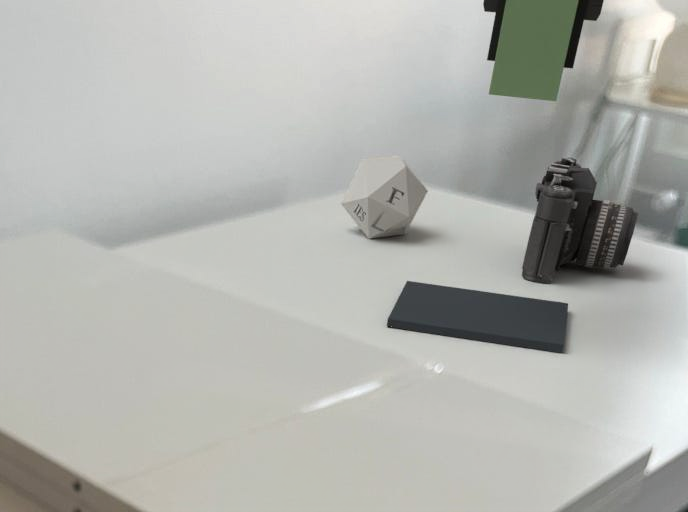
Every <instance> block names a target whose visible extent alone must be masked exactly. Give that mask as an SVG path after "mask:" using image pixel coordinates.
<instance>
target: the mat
mask: <svg viewBox="0 0 688 512" xmlns="http://www.w3.org/2000/svg"><path fill="white" fill-rule="evenodd" d="M568 311H569V303H568V302H562V301H556V300H555V301H554V300H549V299H547V300H546V299H541V298H534V297H526V296H519V295H511V294H504V293H499V292H497V293H496V292H490V291H483V290H477V289H468V288H461V287H455V286H446V285H441V284H440V285H439V284H432V283H426V282H418V281H412V280H406V282H405V284H404V286H403V288H402V290H401V292H400V294H399V296H398V297H397V299H396V302H395V304H394V306H393V307H392V310H391V312H390V314H389V316H388V318H387V321H386V327H387V326H392V327H397V328H396V329H399V328H401V329H400V330H405V329H406V330H405V331H412V332H419V333H426V334H433V335H439V336H446V337H452V338H458V339H466V340H474V341H480V342H486V343H494V344H499V345H504V346H505V345H506V346H512V347H519V348H524V349H525V348H526V349H533V350H540V351H546V352H553V353H559V354H562V353H563V352H564V349H565V344H566V343H565V342H566V331H567V320H568ZM392 327H391V328H392Z"/></svg>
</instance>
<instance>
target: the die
mask: <svg viewBox="0 0 688 512" xmlns="http://www.w3.org/2000/svg"><path fill="white" fill-rule="evenodd" d="M356 169H357V170H356V171H355V174H354V175H353V177H352V179H351V182H350V184H349V186H348V188H347V190H346V192H345V194H344V196H343V198H342V200H341V201H340V205H341V206H342V207H343V209H344V210H345V211H346V212H347V213H348V215H349V216H350V217H351V219H352V220H353V221H354V222H355V224H356V225H357V226H358V227H359V228H360V230H361V231H362V232H363V234H364V235H365V237H367V238H368V240H369V239H370V240H371V239H378V238H386V237H387V238H388V237H394V236H401V235H402V236H403V235H406V233H407V232H408V230H409V228H410V226H411V225H412V223H413V221H414V218H415V217H416V214H417V213H418V211H419V209H420V207H421V206H422V203H423V201H424V200H425V198H426V196H427V194H428V192H429V190H428V189H427V188H426V186H425V185H424V184H423V182H421V180H420V179H419V177H418V176H417V175H416V173H414V171H413V170H412V169H411V167H409V165H408V164H407V163H406V161H405V160H404V159H403V158H402V156H401V155H391V156H377V157H369V158H368V157H366V158H362V159H361V160H360V163H359V164H358V167H357V168H356Z"/></svg>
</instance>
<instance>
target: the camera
mask: <svg viewBox="0 0 688 512" xmlns="http://www.w3.org/2000/svg"><path fill="white" fill-rule="evenodd" d="M597 184H598V182H597V181H596V179H595V177H594V175H593V173H592V171H591V170H590V168H589V167H582V165H581V164H579V163H577V159H576V158H573V157H566V158H564V157H561V160H557V161H555V162H554V163H553V162H552V163H551V164H550V166H548V167H547V169H546V172H545V175H543V177H542V180H541V182H537V183H536V186H535V193H534V195H535V199H536V202H537V206H536V210H535V214H534V217H533V220H532V224H531V228H530V232H529V235H528V239H527V240H528V241H527V245H526V249H525V253H524V257H523V262H522V266H521V269H522V271H521V276H522V277H523V279H524V280H527V281H530V282H534V283H541V284H550V283H552V280H553V279H554V276H555V272H556V271H559V270H560V266H561V265H565V264H568V263H571V262H575V263H574V264H575V265H579V266H584V267H585V268H590V269H591V268H597V267H599V268H602V269H605V270H606V269H607V270H609V268H613V269H615V268H617V267H618V266H624V264H625V260H626V258H627V255H628V252H629V248H630V244H631V241H632V238H633V235H634V231H635V227H636V224H637V221H638V215H639V212H637V211H634V209H633V207H629V206H627V204H623V203H621V204H616V203H615V202H611V201H610V200H609V199H603V200H598V199H594V196H595V193H596V188H597Z"/></svg>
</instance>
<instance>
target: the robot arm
mask: <svg viewBox="0 0 688 512" xmlns="http://www.w3.org/2000/svg"><path fill="white" fill-rule="evenodd" d="M604 1H605V0H579V1H578V6H577V10H576V15H575V19H574V24H573V28H572V33H571V37H570V42H569V46H568V50H567V55H566V59H565V64H564V69H574V65H575V61H576V57H577V52H578V48H579V44H580V39H581V35H582V30H583V26H584V21H591V22H593V21H594V22H596V21H598V19H599V17H600V16H601V14H602V10H603V6H604V5H603V4H604ZM505 4H506V0H483V3H482V5H483V11H484V12H485V13H495V15H494V19H493V25H492V31H491V36H490V42H489V47H488V51H487V59H486V61H490V62H495V57H496V52H497V47H498V42H499V36H500V31H501V26H502V20H503V15H504V10H505Z"/></svg>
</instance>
